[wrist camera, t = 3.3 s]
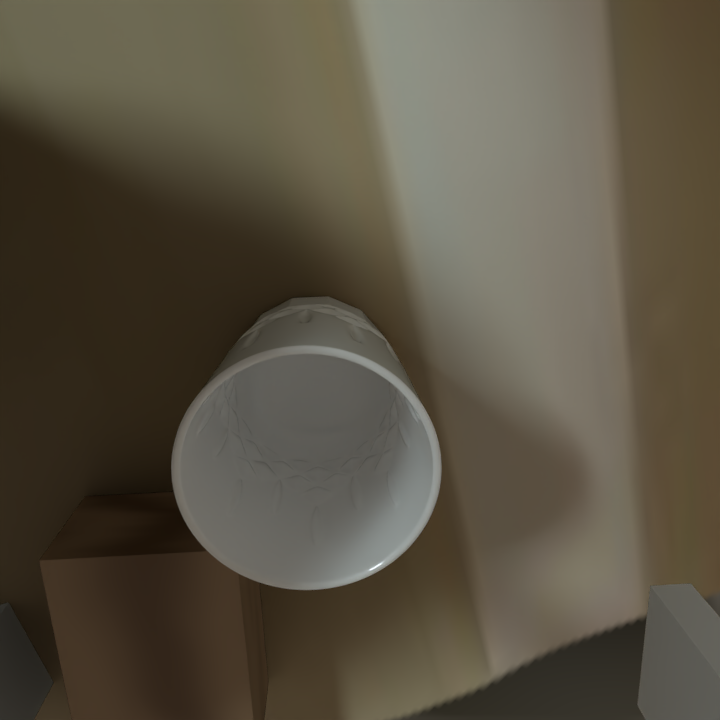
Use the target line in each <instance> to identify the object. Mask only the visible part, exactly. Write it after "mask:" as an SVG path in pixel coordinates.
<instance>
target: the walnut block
mask: <svg viewBox="0 0 720 720" xmlns="http://www.w3.org/2000/svg"><path fill="white" fill-rule="evenodd" d="M39 563H40V568H41V573H42V578H43V583H44V587H45V592H46V597H47V602H48V607H49V612H50V617H51V621H52V626H53V631H54V636H55V641H56V646H57V650H58V655H59V660H60V665H61V670H62V675H63V679H64V684H65V689H66V694H67V699H68V704H69V709H70V713H71V718H72V720H264V717H265V708H266V699H267V691H268V671H267V660H266V649H265V639H264V628H263V617H262V606H261V596H260V585H259V582H257V581H254V580H251V579H249V578H247V577H244V576H242V575H240V574H238V573H236V572H235V571H233V570H231V569H230V568H228V567H227V566H225V565H224V564H222V563H221V562H219V561H218V560H217V559H216V558H214V557H213V556H212V555H211V554H210V553H209V552H208V551H207V550H206V549H205V548H204V547H203V546H202V545H201V544H200V543H199V542H198V540H197V539H196V538H195V536H194V535H193V534H192V532H191V531H190V529H189V528H188V526H187V524H186V523H185V521H184V519H183V517H182V515H181V512H180V510H179V507H178V505H177V502H176V498H175V495H174V492H160V493H141V494H122V495H103V496H85V497H84V499H83V500H82V502H81V503H80V504H79V506H78V507H77V509H76V510H75V511H74V513H73V514H72V515H71V517H70V518H69V520H68V521H67V522H66V524H65V525H64V527H63V528H62V529H61V531H60V532H59V534H58V535H57V536H56V538H55V539H54V540H53V542H52V543H51V545H50V546H49V547H48V549H47V550H46V552H45V553H44V554H43V556H42V557H41V559H40V560H39Z"/></svg>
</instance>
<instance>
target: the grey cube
mask: <svg viewBox="0 0 720 720" xmlns="http://www.w3.org/2000/svg"><path fill="white" fill-rule="evenodd" d="M52 684H53V681H52V679H51V677H50V675H49V674H48V672H47V670H46V668H45V667H44V665H43V663H42V661H41V659H40V658H39V656H38V654H37V652H36V650H35V649H34V647H33V645H32V643H31V641H30V640H29V638H28V636H27V634H26V633H25V631H24V629H23V627H22V625H21V624H20V622H19V620H18V618H17V616H16V615H15V613H14V611H13V609H12V608H11V606H10V604H9V603H5V604H2V605H0V720H34V718H35V717H36V715H37V713H38V711H39V709H40V707H41V705H42V703H43V701H44V700H45V698H46V696H47V694H48V692H49V690H50V688H51V686H52Z"/></svg>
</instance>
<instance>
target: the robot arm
mask: <svg viewBox="0 0 720 720" xmlns="http://www.w3.org/2000/svg"><path fill="white" fill-rule="evenodd" d="M637 706H638V707H639V709H640V711H641V712H642V714H643V716H644V718H645V720H720V617H719V616H718V615H717V613H716V612H715V611H714V610H713V609H712V608H711V606H710V605H709V604H708V603H707V602H706V601H705V599H704V598H703V597H702V596H701V595H700V594H699V592H698V591H697V590H696V589H695V588H694V587H693V585H692V584H691V583H690V584H673V585H655V586H650V593H649V602H648V612H647V621H646V630H645V640H644V649H643V658H642V667H641V677H640V687H639V695H638V705H637Z"/></svg>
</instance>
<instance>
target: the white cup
mask: <svg viewBox="0 0 720 720" xmlns="http://www.w3.org/2000/svg"><path fill="white" fill-rule="evenodd" d="M441 474H442V462H441V452H440V446H439V441H438V438H437V434H436V431H435V428H434V426H433V423H432V421H431V419H430V417H429V415H428V413H427V411H426V409H425V407H424V406H423V404H422V402H421V400H420V398H419V396H418V394H417V392H416V390H415V388H414V386H413V384H412V382H411V380H410V378H409V376H408V374H407V372H406V371H405V369H404V367H403V365H402V363H401V362H400V360H399V358H398V357H397V355H396V354H395V352H394V350H393V349H392V347H391V346H390V344H389V343H388V341H387V340H386V339H385V337H384V335H383V334H382V333H381V332H380V331H379V330H378V329H377V327H376V326H375V325H374V324H373V323H372V322H371V321H370V319H369V318H368V317H367V316H366V315H365V314H364V313H363V312H362V310H360V309H357V308H355V307H353V306H350V305H348V304H345V303H343V302H341V301H338V300H336V299H334V298H331V297H329V296H324V297H301V298H291V299H289V300H287V301H286V302H284V303H282V304H280V305H278V306H276V307H274V308H272V309H271V310H269V311H267V312H265V313H263V314H261V315H260V316H259V318H258V319H257V321H256V322H255V323H254V325H253V326H252V327H251V328H250V329H248V330H247V331H246V332H245V333H244V334H243V335H242V336H241V337H240V339H239V340H238V341H237V342H236V343H235V345H234V346H233V347H232V348H231V349H230V350H229V352H228V353H227V355H226V356H225V358H224V359H223V360H222V362H221V363H220V364H219V366H218V367H217V368H216V370H215V371H214V373H213V374H212V375H211V377H210V378H209V380H208V381H207V383H206V384H205V385H204V387H203V388H202V389H201V391H200V392H199V393H198V395H197V396H196V397H195V399H194V400H193V402H192V403H191V405H190V406H189V408H188V409H187V411H186V413H185V415H184V417H183V419H182V421H181V423H180V425H179V428H178V431H177V434H176V437H175V441H174V445H173V451H172V459H171V476H172V485H173V490H174V495H175V498H176V502H177V505H178V507H179V510H180V512H181V515H182V517H183V519H184V521H185V523H186V524H187V526H188V528H189V529H190V531H191V532H192V534H193V535H194V536H195V538H196V539H197V540H198V542H199V543H200V544H201V545H202V546H203V547H204V548H205V549H206V550H207V551H208V552H209V553H210V554H211V555H212V556H213V557H214V558H216V559H217V560H218V561H219V562H221V563H222V564H224V565H225V566H227V567H228V568H230V569H231V570H233V571H235V572H236V573H238V574H240V575H242V576H244V577H247V578H249V579H251V580H254V581H257V582H259V583H262V584H266V585H269V586H274V587H278V588H284V589H293V590H320V589H329V588H335V587H339V586H344V585H347V584H351V583H354V582H357V581H359V580H362V579H364V578H366V577H369V576H371V575H373V574H375V573H377V572H378V571H380V570H382V569H383V568H385V567H386V566H388V565H389V564H391V563H392V562H393V561H395V560H396V559H397V558H398V557H400V556H401V555H402V554H403V553H404V552H405V551H406V550H407V549H408V548H409V547H410V546H411V545H412V544H413V543H414V541H415V540H416V539H417V538H418V536H419V535H420V534H421V532H422V531H423V529H424V528H425V526H426V524H427V522H428V521H429V519H430V517H431V514H432V512H433V510H434V507H435V504H436V501H437V498H438V494H439V490H440V484H441Z"/></svg>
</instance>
